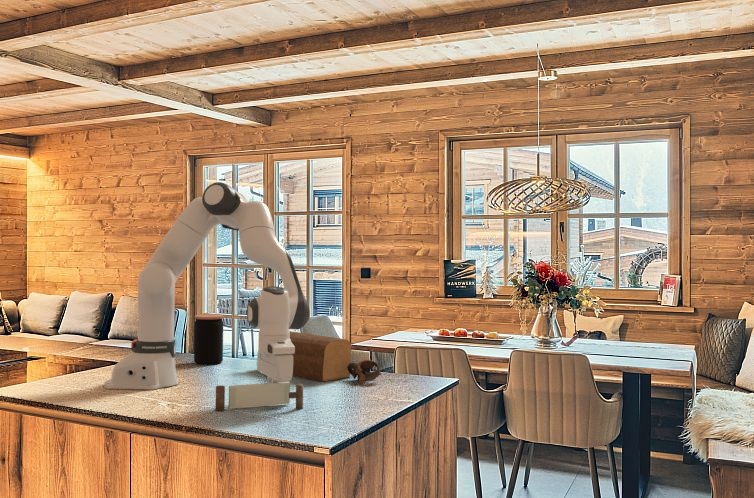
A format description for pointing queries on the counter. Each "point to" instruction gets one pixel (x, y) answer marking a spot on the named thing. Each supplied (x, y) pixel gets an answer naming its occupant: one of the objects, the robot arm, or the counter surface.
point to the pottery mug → (364, 370)
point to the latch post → (298, 396)
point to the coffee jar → (208, 339)
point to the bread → (320, 357)
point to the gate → (259, 394)
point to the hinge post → (220, 398)
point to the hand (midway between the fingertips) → (273, 392)
